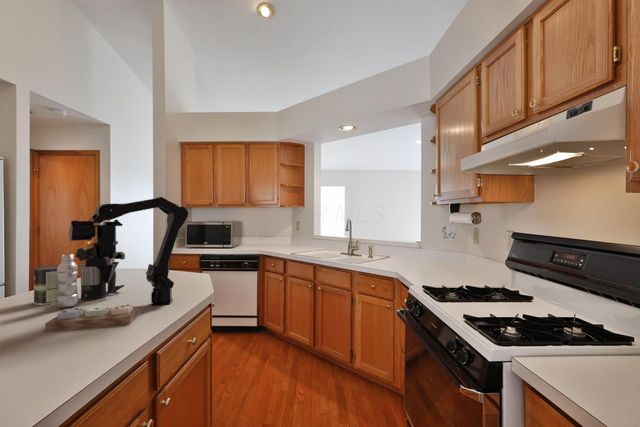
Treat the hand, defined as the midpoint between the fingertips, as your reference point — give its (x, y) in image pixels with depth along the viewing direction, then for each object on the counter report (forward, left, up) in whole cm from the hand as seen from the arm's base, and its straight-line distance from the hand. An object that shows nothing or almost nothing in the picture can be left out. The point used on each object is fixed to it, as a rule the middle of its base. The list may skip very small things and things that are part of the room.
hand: (106, 283), depth 112 cm
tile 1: (0, +8, -9) cm, 12 cm away
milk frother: (+12, -30, -11) cm, 34 cm away
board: (0, +8, -11) cm, 14 cm away
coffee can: (+29, -25, -11) cm, 40 cm away
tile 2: (+8, +8, -9) cm, 14 cm away
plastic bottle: (+18, -14, -11) cm, 25 cm away
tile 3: (-7, +8, -9) cm, 14 cm away
